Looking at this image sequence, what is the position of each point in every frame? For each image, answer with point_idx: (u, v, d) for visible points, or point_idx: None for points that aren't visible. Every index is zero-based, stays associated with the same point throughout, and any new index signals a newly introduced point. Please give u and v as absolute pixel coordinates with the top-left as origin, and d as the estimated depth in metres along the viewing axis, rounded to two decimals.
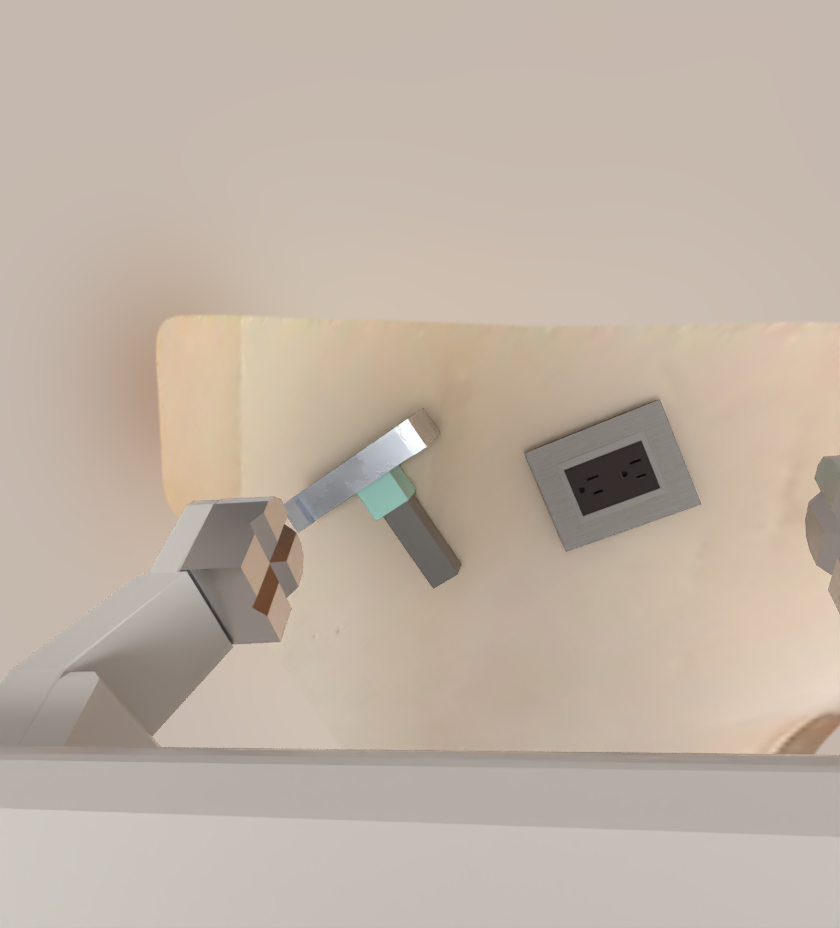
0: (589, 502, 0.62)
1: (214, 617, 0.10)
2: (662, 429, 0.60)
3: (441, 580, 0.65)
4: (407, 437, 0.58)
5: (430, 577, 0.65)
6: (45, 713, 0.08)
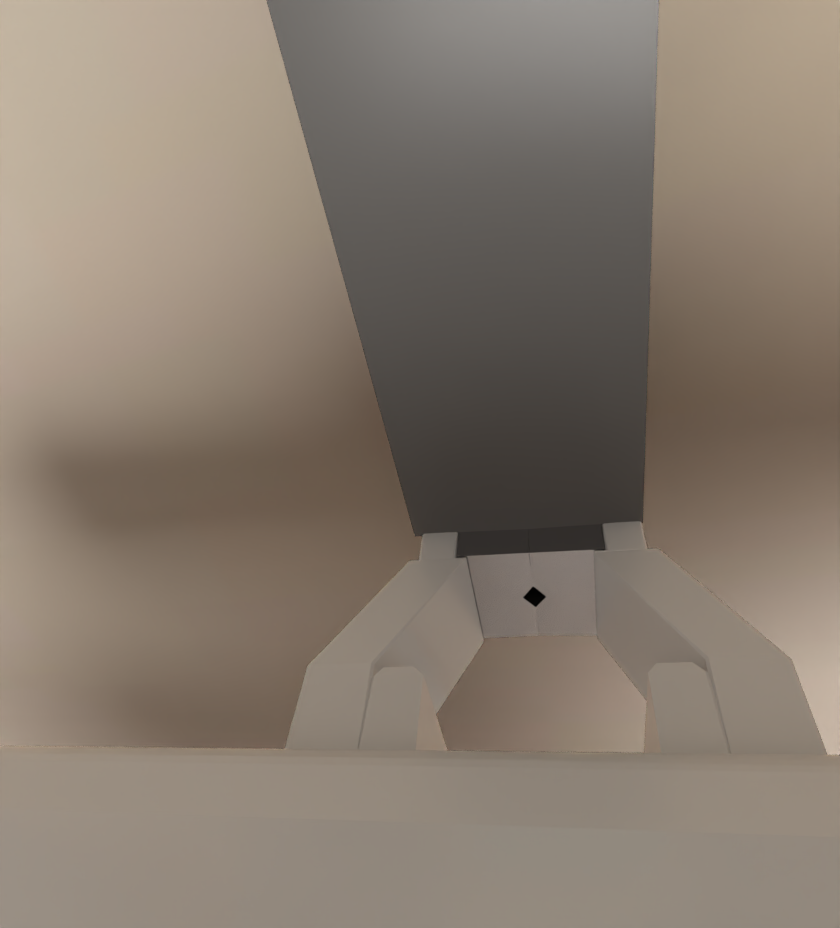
0: None
1: (475, 608, 0.09)
2: None
3: (500, 515, 0.09)
4: None
5: (431, 471, 0.08)
6: (375, 713, 0.07)
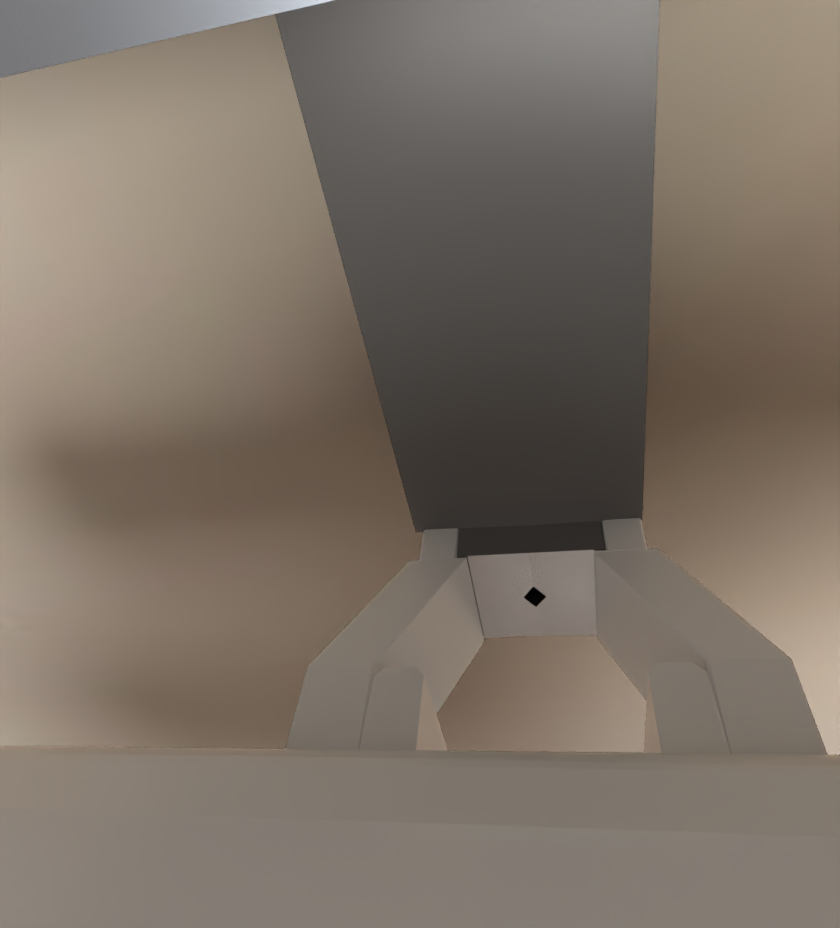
0: None
1: (476, 608, 0.09)
2: None
3: (501, 512, 0.09)
4: None
5: (432, 467, 0.08)
6: (375, 713, 0.07)
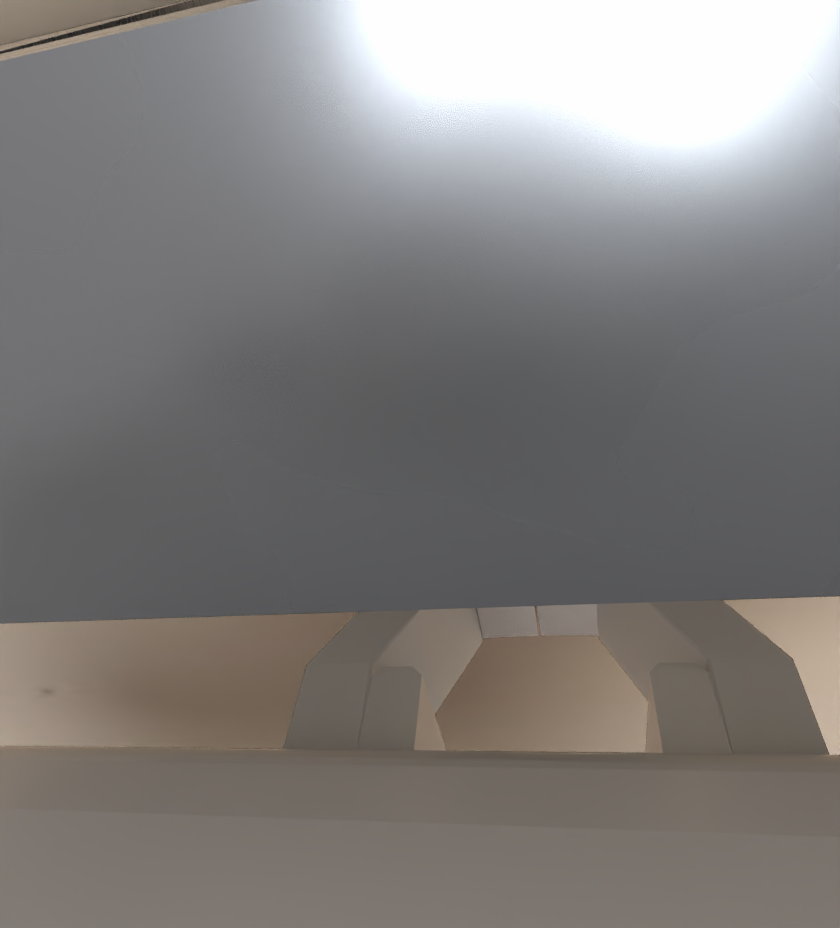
0: None
1: (475, 608, 0.09)
2: None
3: None
4: None
5: None
6: (373, 713, 0.07)
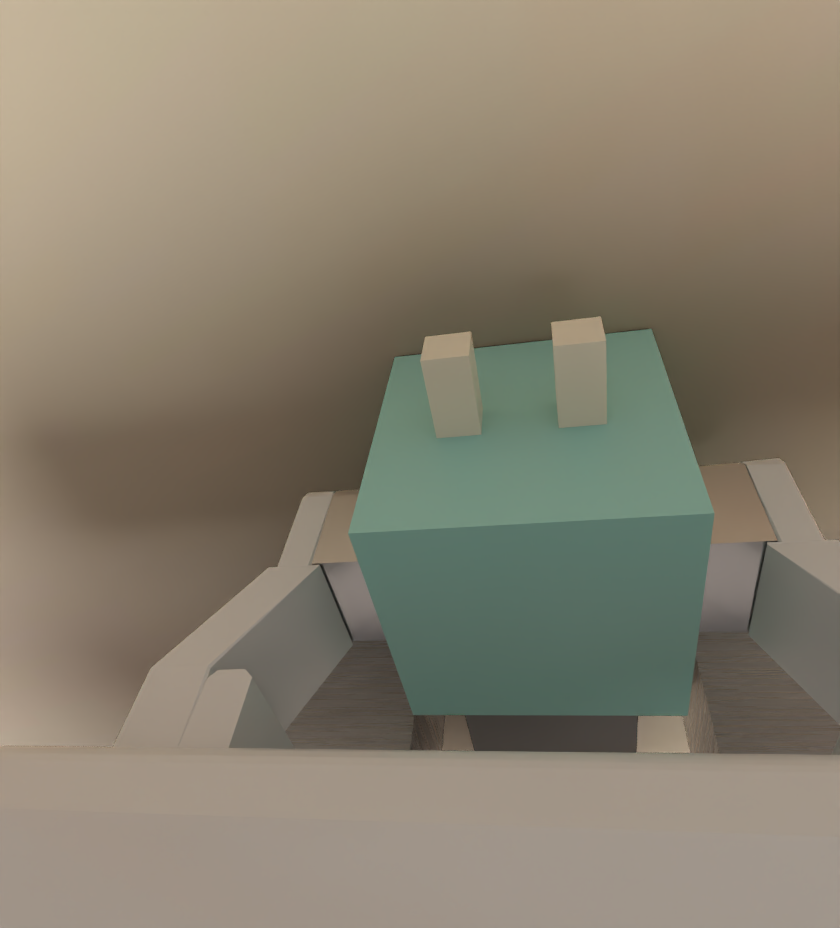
0: None
1: (339, 613, 0.10)
2: None
3: None
4: None
5: None
6: (200, 713, 0.07)
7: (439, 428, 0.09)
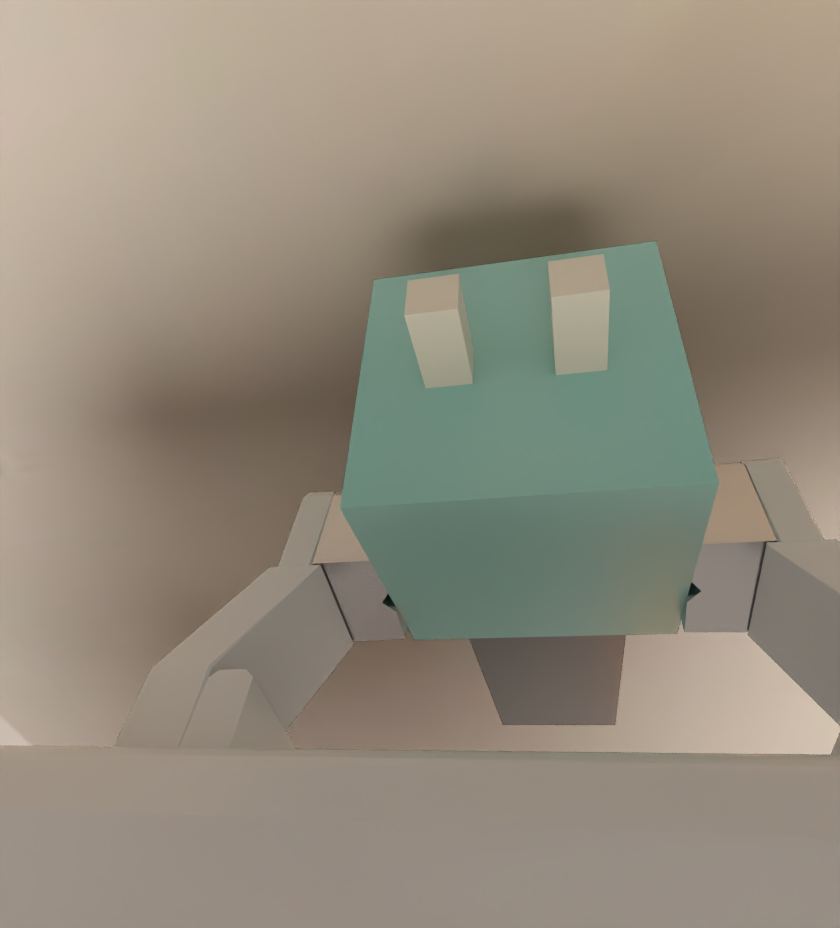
0: None
1: (341, 613, 0.10)
2: None
3: (546, 722, 0.18)
4: None
5: (515, 713, 0.17)
6: (201, 713, 0.07)
7: (428, 379, 0.08)
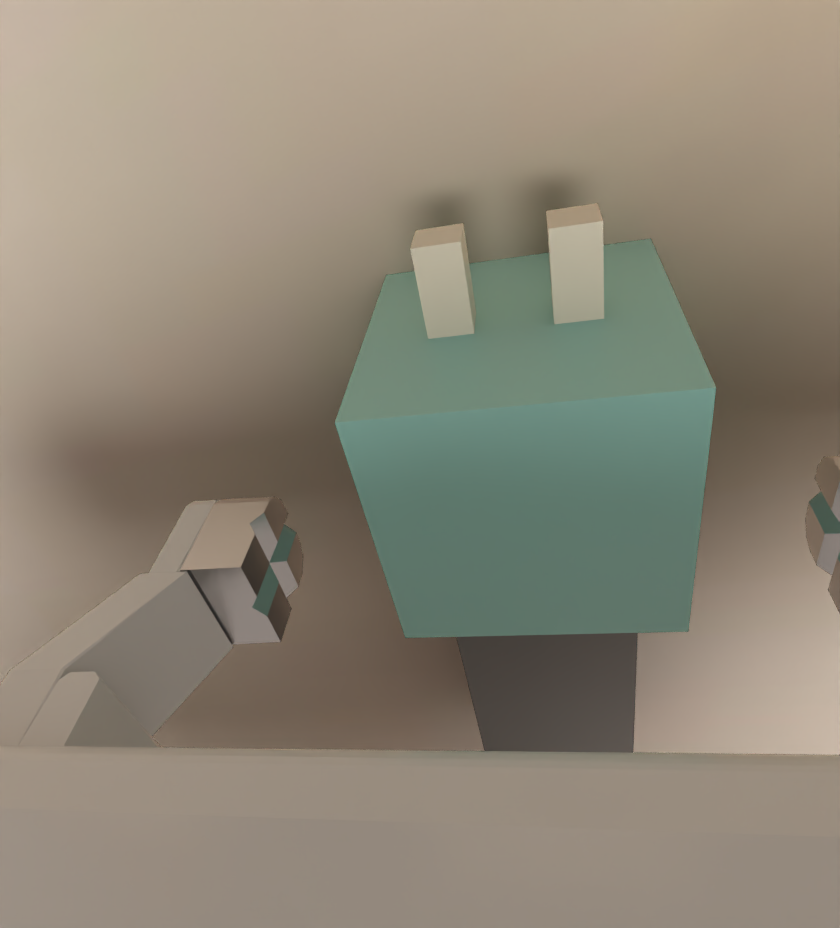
0: None
1: (215, 617, 0.10)
2: None
3: None
4: None
5: None
6: (45, 713, 0.08)
7: (430, 327, 0.08)
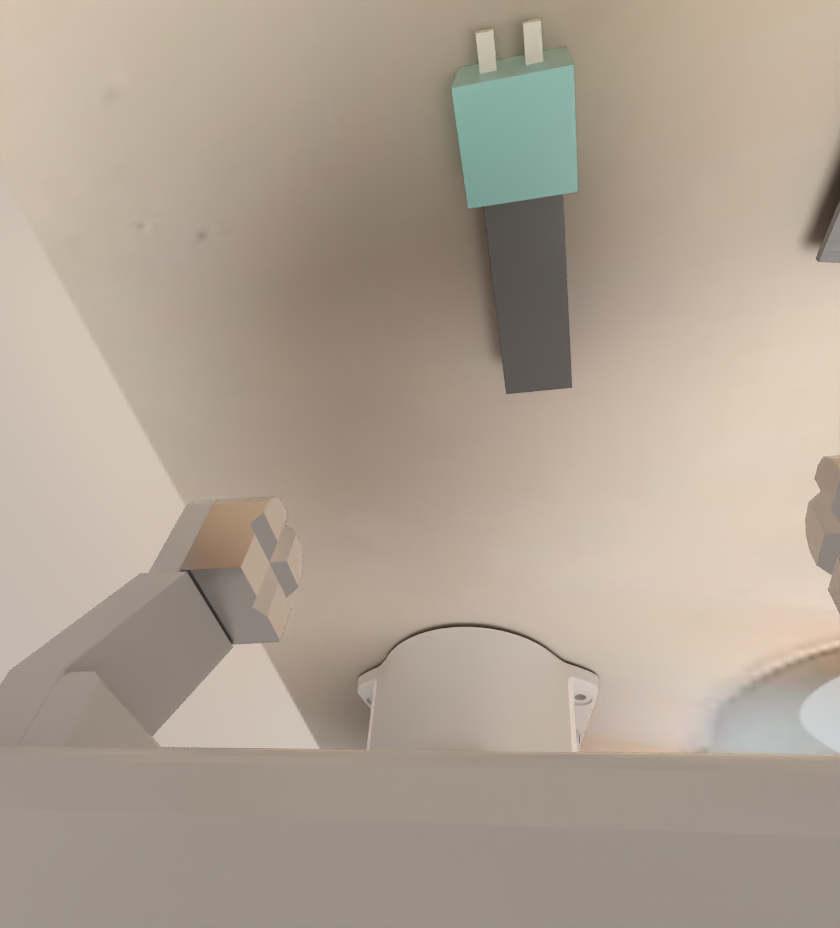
0: None
1: (214, 617, 0.10)
2: None
3: (532, 386, 0.30)
4: None
5: (513, 372, 0.30)
6: (45, 713, 0.08)
7: (481, 68, 0.23)
